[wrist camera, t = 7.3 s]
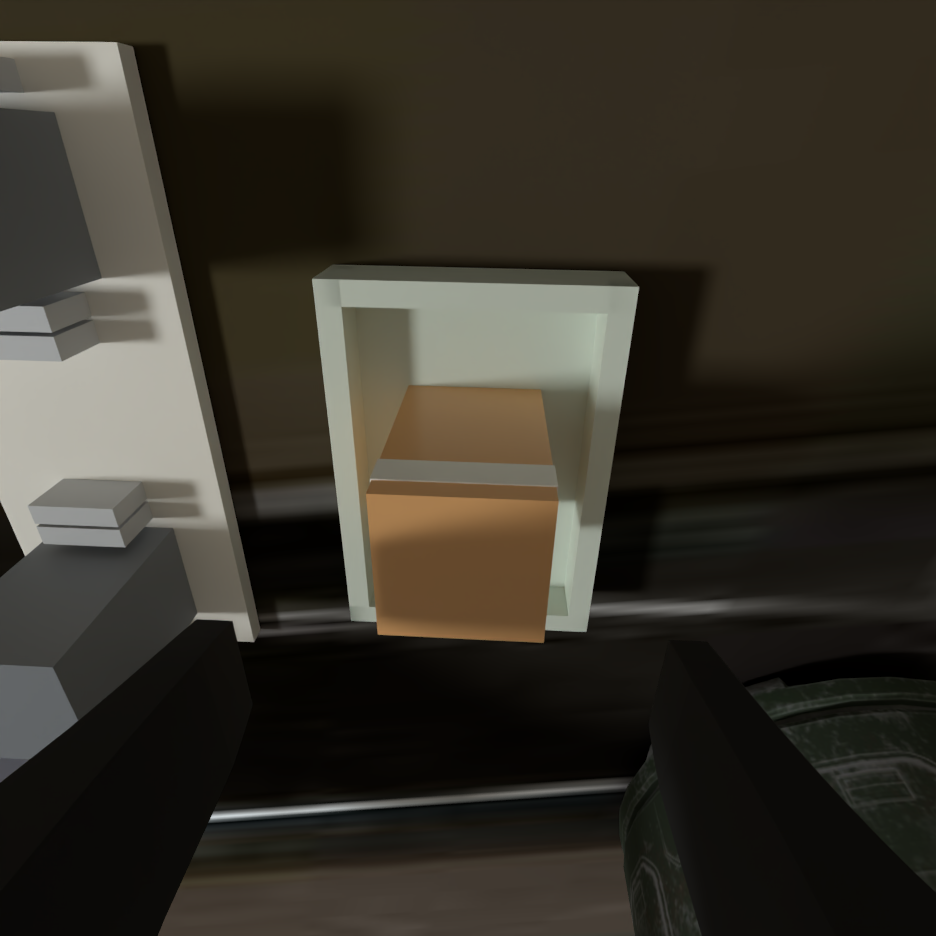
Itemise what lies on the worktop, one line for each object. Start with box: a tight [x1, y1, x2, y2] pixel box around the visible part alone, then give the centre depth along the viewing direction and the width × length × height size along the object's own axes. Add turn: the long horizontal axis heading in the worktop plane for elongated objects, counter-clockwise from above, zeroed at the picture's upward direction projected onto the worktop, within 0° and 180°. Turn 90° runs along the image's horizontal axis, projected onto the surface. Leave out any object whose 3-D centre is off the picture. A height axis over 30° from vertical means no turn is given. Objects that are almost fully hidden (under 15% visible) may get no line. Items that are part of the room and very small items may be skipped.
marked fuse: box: [366, 385, 559, 643], centre depth 14 cm, size 4×4×6 cm
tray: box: [312, 265, 639, 632], centre depth 16 cm, size 10×7×2 cm
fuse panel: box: [0, 41, 260, 760], centre depth 14 cm, size 17×7×6 cm, turn 179°
